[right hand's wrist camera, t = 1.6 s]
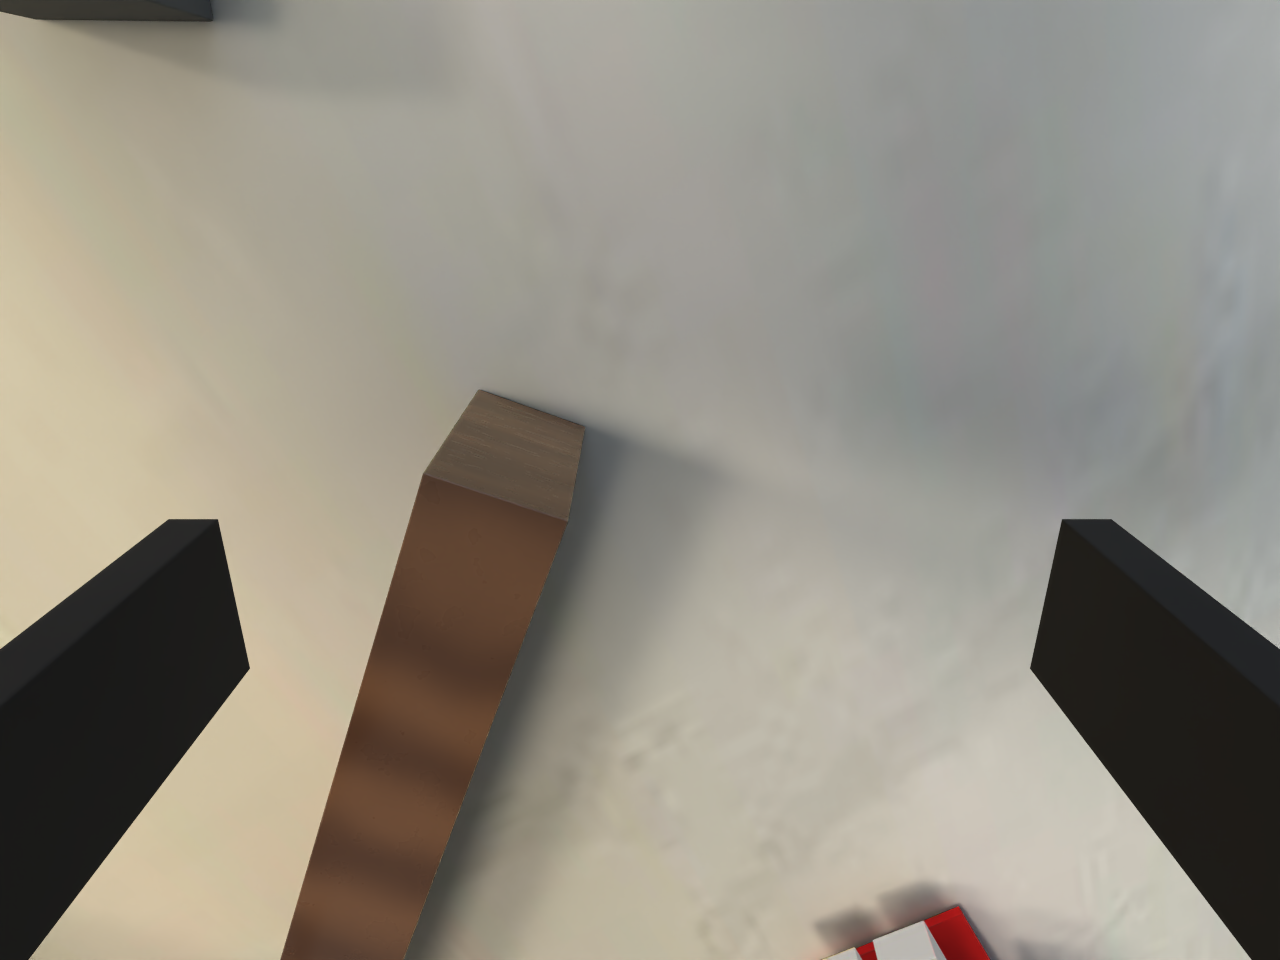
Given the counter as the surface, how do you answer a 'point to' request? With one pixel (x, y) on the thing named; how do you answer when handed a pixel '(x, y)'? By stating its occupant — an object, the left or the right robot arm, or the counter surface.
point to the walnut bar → (436, 675)
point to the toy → (923, 942)
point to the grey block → (110, 9)
